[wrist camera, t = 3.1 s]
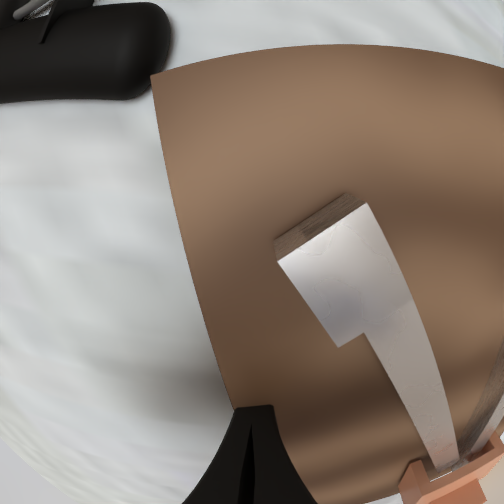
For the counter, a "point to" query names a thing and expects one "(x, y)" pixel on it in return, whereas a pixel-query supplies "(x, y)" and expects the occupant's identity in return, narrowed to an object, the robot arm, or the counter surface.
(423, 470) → the sleeve
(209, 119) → the walnut board
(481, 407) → the fixed tong arm
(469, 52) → the counter surface
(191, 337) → the counter surface
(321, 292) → the tong arm
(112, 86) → the door handle
